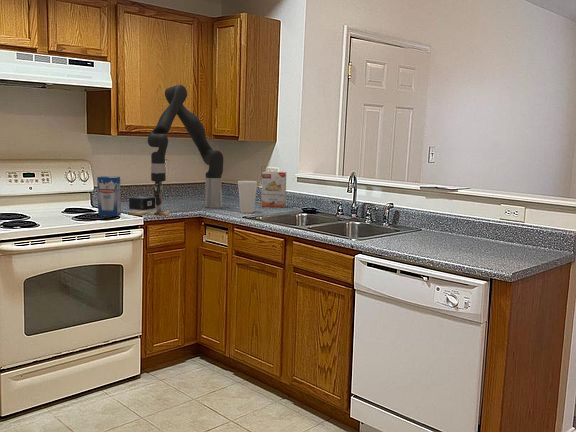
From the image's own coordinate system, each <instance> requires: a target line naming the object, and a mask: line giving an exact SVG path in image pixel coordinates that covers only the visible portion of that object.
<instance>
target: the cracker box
mask: <svg viewBox="0 0 576 432" xmlns="http://www.w3.org/2000/svg"><path fill="white" fill-rule="evenodd" d="M286 202H287V172H286V171H269V170H268V171H266V170H265V171H262V172H261V207H262V208H263V207H264V208H285V207H286V206H287V205H286Z"/></svg>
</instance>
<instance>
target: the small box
mask: <svg viewBox="0 0 576 432" xmlns="http://www.w3.org/2000/svg"><path fill="white" fill-rule="evenodd" d="M128 208H129V209H131V210H141V209H142V210H141V211H145V210H149V209H150V208H151V209H156V198H155V197H154V196H143V195H142V196H134V197H129V198H128ZM144 209H145V210H144Z"/></svg>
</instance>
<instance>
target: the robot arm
mask: <svg viewBox="0 0 576 432" xmlns="http://www.w3.org/2000/svg"><path fill="white" fill-rule="evenodd" d="M164 97H165V100H166V101H167V103H168V106H167V107H166V109H165V110H164V111H162V113H161V115H160V116H159V119H158V121H157V123H156V126H155V127H154V128H153V129H152V130H151V131H150V133H149V135H148V137H147V145H149V147H152V148H158V150H157V151H154V152H151V156H150V157H151V158H150V160H151V162H150V181H152V182H154V185H153V194H154V195H153V197H155V206H156V205H160V194H161V205H162V200H163V199H162V198H163V195H164V184H163V182H165V181H166V179H167V177H166V169H167V167H166V153H167V149H168V145H169V139H168V136H167V134H169V132H170V130H171V127H172V124H174V123H173V122H174V120H175V118H176V117H178V118H179V120H180V122H181V123H182V125H183V126H184V129H185V130H186V131H187V134H188V136H190V138H191V139H192V141H193V143H194V144H195V146H196V148H197V151H198V152H199V154H200V156H201V158H202V160H203V162H204V163H205V165H207V166H208V170H207V172H205V208H209V209H216V208H217V209H219V208H223V191H222V175H223V172H224V155H223V153H222V152H221V151H220V150H217V149H213V148H212V147H211V146H210V144H209V142H208V140H207V135H206V130H205V127H204V125H203V124H202V122H201V120H200V119H199V117H198V116H196V114H194V113H193V112H192V111H190V110H189V109H187V107H185V105H184V103H185V101H186V99H187V98H188V90H187V87H185V86H184V85H183V84H176V85H173V86H170V87H167V88H166V89H165V91H164ZM157 194H158V195H157Z"/></svg>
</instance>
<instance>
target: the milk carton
mask: <svg viewBox="0 0 576 432" xmlns="http://www.w3.org/2000/svg"><path fill="white" fill-rule="evenodd" d="M96 178H97V211H98V213H97V214H98V215H100V216H99V217H104V216H103V215H107V216H106V217H112V216H118V217H119V216H122V212H121V211H122V209H121V207H122V205H121V176H103V175H102V176H97V177H96ZM98 215H97V216H98ZM101 215H102V216H101Z"/></svg>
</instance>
